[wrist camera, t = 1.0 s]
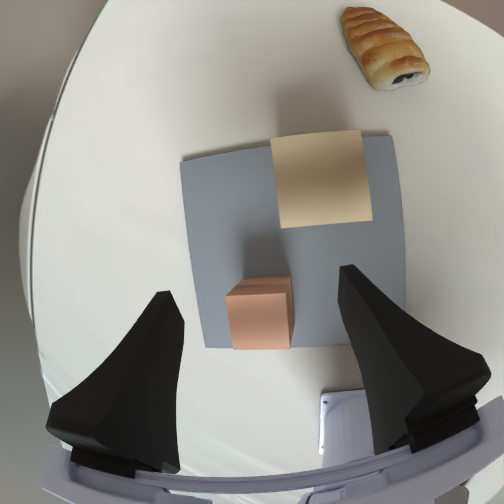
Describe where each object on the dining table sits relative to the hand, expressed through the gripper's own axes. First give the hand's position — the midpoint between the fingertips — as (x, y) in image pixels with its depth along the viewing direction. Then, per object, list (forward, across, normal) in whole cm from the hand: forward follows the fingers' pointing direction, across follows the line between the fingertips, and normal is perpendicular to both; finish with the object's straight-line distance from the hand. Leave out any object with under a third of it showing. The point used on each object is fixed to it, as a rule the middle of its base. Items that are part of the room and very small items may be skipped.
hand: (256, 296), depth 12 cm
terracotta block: (+8, 0, +8) cm, 12 cm away
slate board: (+10, -3, +5) cm, 12 cm away
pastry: (+17, -14, -10) cm, 24 cm away
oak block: (+11, -6, 0) cm, 13 cm away
